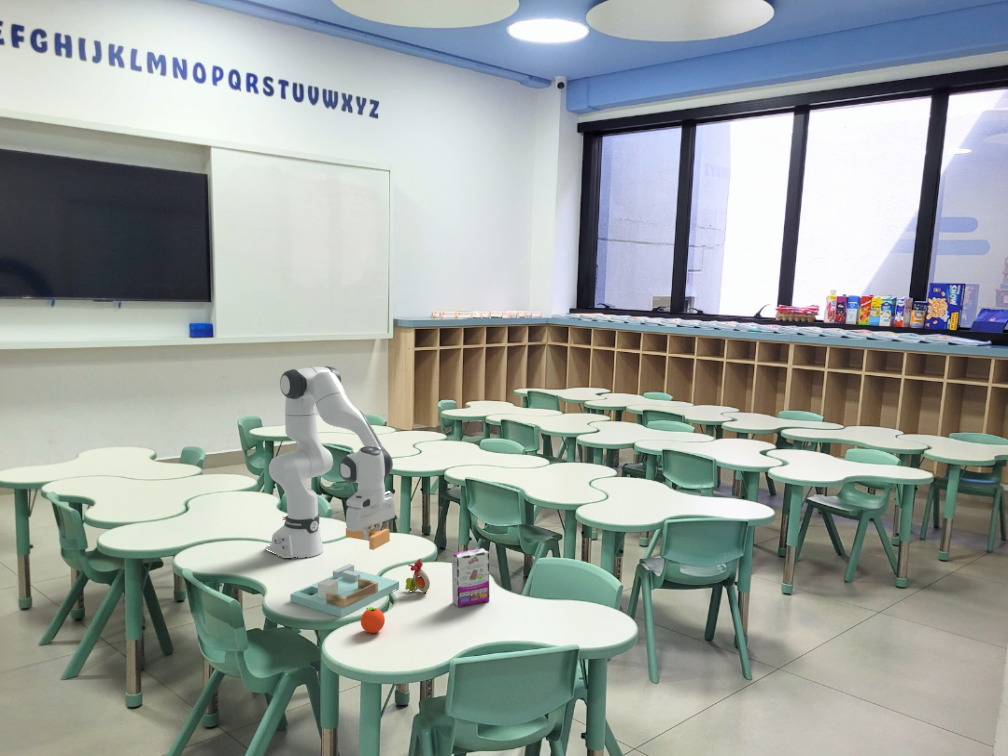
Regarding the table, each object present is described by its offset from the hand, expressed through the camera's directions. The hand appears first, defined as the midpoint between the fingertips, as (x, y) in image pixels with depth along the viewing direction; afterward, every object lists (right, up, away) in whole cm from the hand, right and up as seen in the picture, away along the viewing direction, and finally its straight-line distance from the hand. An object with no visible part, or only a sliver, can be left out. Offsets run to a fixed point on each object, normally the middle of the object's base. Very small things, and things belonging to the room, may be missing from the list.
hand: (372, 537), depth 254 cm
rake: (-3, -1, -2) cm, 4 cm away
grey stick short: (-11, -14, +7) cm, 19 cm away
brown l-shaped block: (-4, -16, -12) cm, 21 cm away
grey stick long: (-7, -15, +3) cm, 16 cm away
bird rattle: (+16, -18, -1) cm, 24 cm away
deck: (-8, -18, -4) cm, 20 cm away
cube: (-12, -16, -11) cm, 23 cm away
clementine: (+5, -21, -31) cm, 38 cm away
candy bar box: (+33, -19, -9) cm, 39 cm away
